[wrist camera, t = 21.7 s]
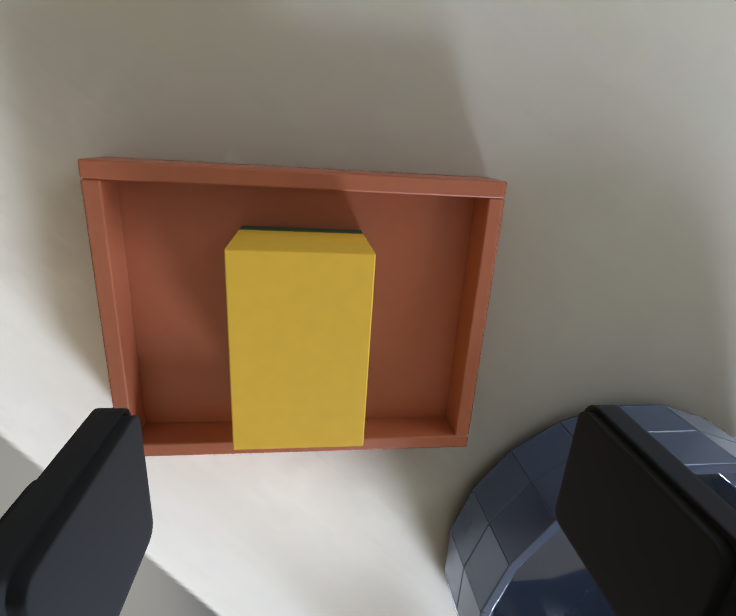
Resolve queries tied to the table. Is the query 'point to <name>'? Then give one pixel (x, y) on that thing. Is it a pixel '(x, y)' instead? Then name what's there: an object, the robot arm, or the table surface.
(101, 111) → the table surface
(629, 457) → the robot arm
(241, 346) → the sponge
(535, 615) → the bowl
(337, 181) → the sponge dish
